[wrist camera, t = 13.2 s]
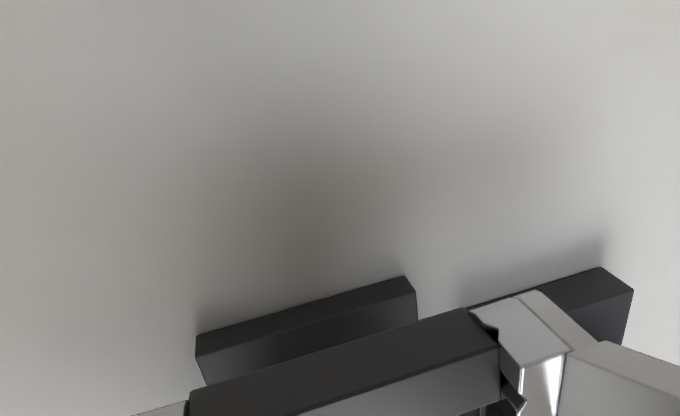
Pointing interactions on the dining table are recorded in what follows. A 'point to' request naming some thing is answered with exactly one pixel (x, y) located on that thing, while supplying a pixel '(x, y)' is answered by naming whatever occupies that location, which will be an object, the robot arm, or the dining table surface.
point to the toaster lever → (372, 376)
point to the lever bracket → (305, 330)
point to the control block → (583, 309)
